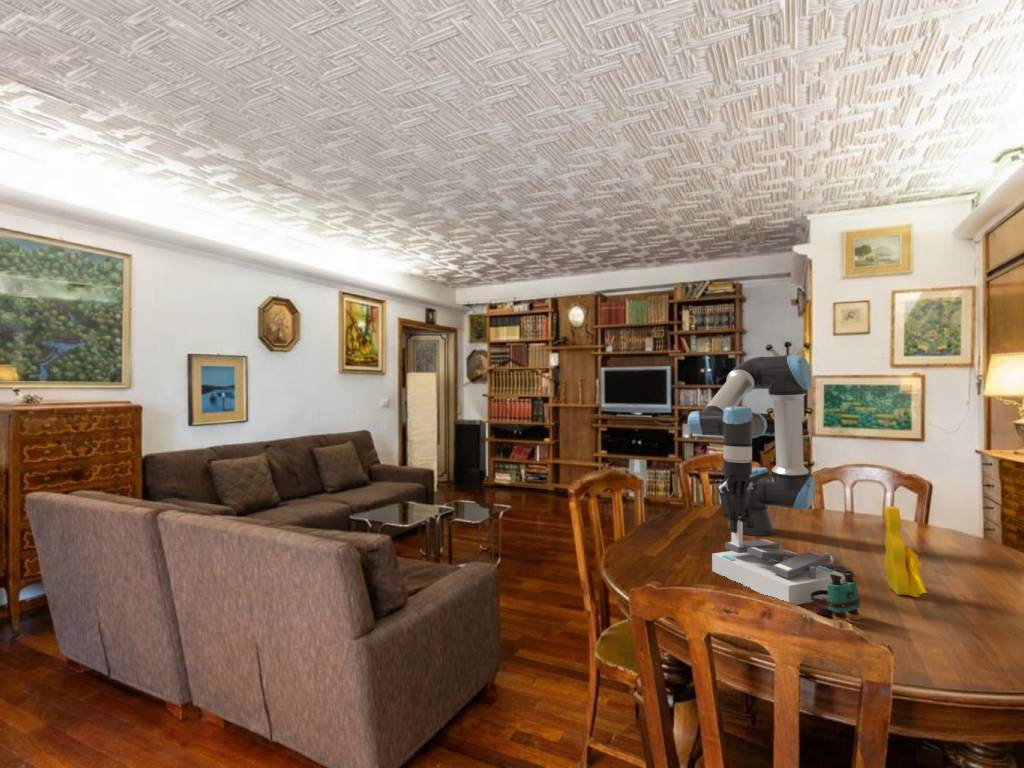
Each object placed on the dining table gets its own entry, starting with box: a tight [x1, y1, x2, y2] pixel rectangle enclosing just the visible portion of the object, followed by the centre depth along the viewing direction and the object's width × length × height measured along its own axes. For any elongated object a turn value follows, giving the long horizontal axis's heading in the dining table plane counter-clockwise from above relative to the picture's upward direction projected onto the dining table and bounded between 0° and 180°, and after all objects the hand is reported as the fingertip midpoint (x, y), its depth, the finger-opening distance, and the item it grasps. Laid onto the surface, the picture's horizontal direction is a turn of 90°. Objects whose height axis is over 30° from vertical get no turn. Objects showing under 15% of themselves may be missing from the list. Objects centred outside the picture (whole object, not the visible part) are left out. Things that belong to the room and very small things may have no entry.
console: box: [711, 550, 845, 606], centre depth 140 cm, size 20×26×8 cm
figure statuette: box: [883, 506, 928, 598], centre depth 133 cm, size 18×8×22 cm, turn 160°
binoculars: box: [811, 569, 861, 622], centre depth 120 cm, size 9×11×10 cm
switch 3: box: [771, 549, 831, 579], centre depth 133 cm, size 15×5×2 cm, turn 111°
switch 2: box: [747, 547, 801, 560], centre depth 140 cm, size 15×5×2 cm, turn 110°
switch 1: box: [724, 538, 780, 553], centre depth 148 cm, size 15×5×2 cm, turn 111°
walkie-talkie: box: [820, 552, 846, 574], centre depth 148 cm, size 9×4×20 cm
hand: (736, 543), depth 146 cm, fingers closed
